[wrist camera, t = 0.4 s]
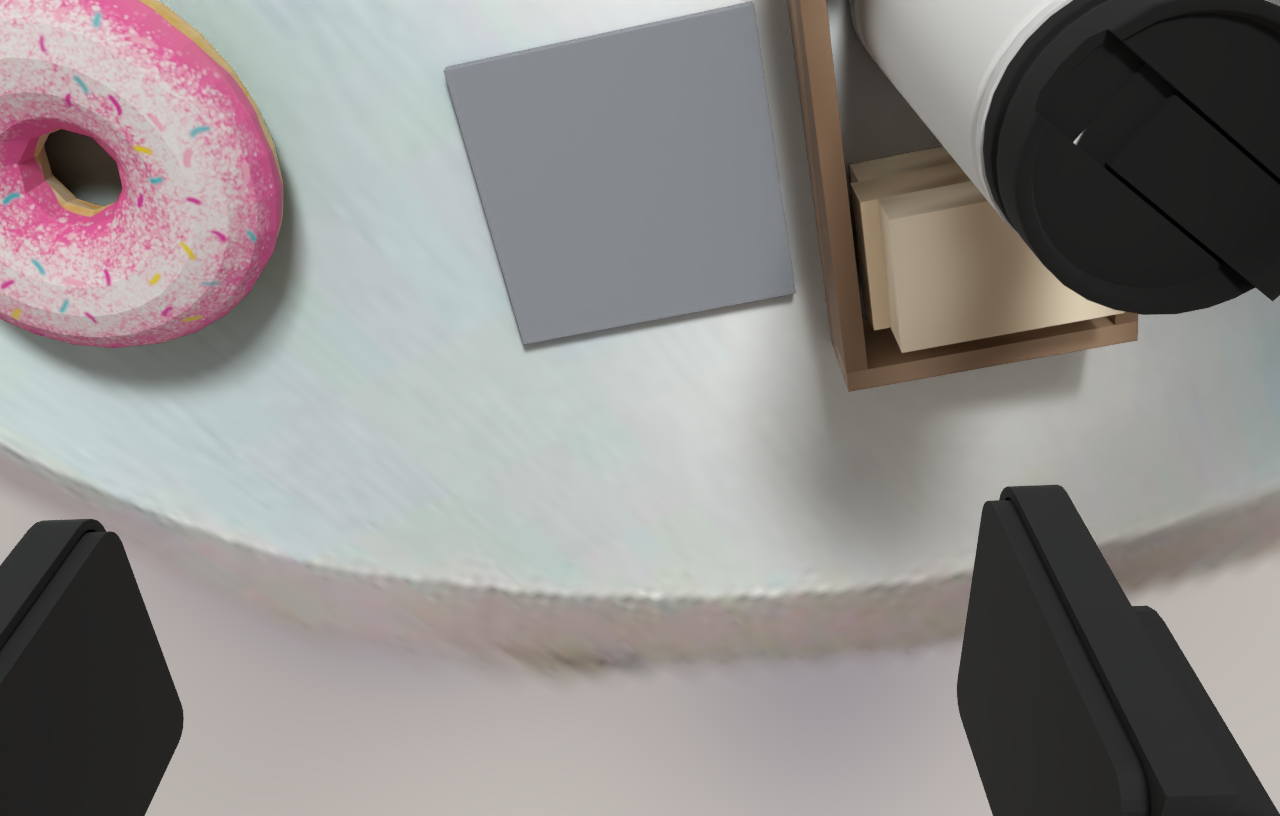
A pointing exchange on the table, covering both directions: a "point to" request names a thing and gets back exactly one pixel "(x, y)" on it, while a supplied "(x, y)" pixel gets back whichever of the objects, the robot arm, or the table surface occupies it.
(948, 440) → the table surface
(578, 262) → the slate mat
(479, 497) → the table surface
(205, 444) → the table surface
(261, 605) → the table surface
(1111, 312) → the maple offcut stack
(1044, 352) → the wooden tray
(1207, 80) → the travel mug
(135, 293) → the donut
